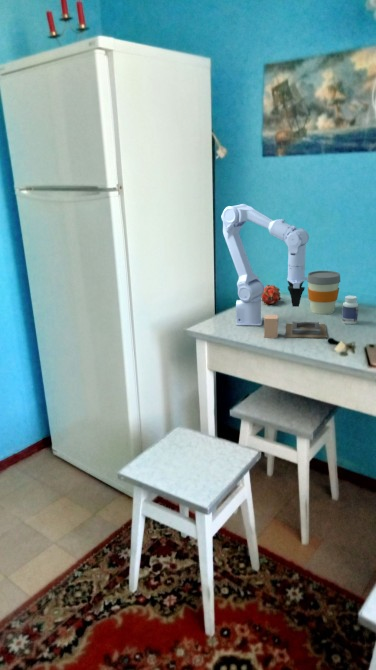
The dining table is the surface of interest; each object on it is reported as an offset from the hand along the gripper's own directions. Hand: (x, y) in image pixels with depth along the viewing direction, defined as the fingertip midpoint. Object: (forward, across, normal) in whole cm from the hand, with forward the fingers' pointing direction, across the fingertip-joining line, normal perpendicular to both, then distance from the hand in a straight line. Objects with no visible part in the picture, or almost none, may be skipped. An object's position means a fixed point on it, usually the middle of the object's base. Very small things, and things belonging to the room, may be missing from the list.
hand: (295, 303), depth 170 cm
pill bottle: (+10, +10, -20) cm, 25 cm away
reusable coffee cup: (+10, +24, -11) cm, 28 cm away
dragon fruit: (+11, +34, +10) cm, 37 cm away
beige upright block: (+10, -6, +8) cm, 14 cm away
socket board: (+10, -1, -4) cm, 11 cm away
